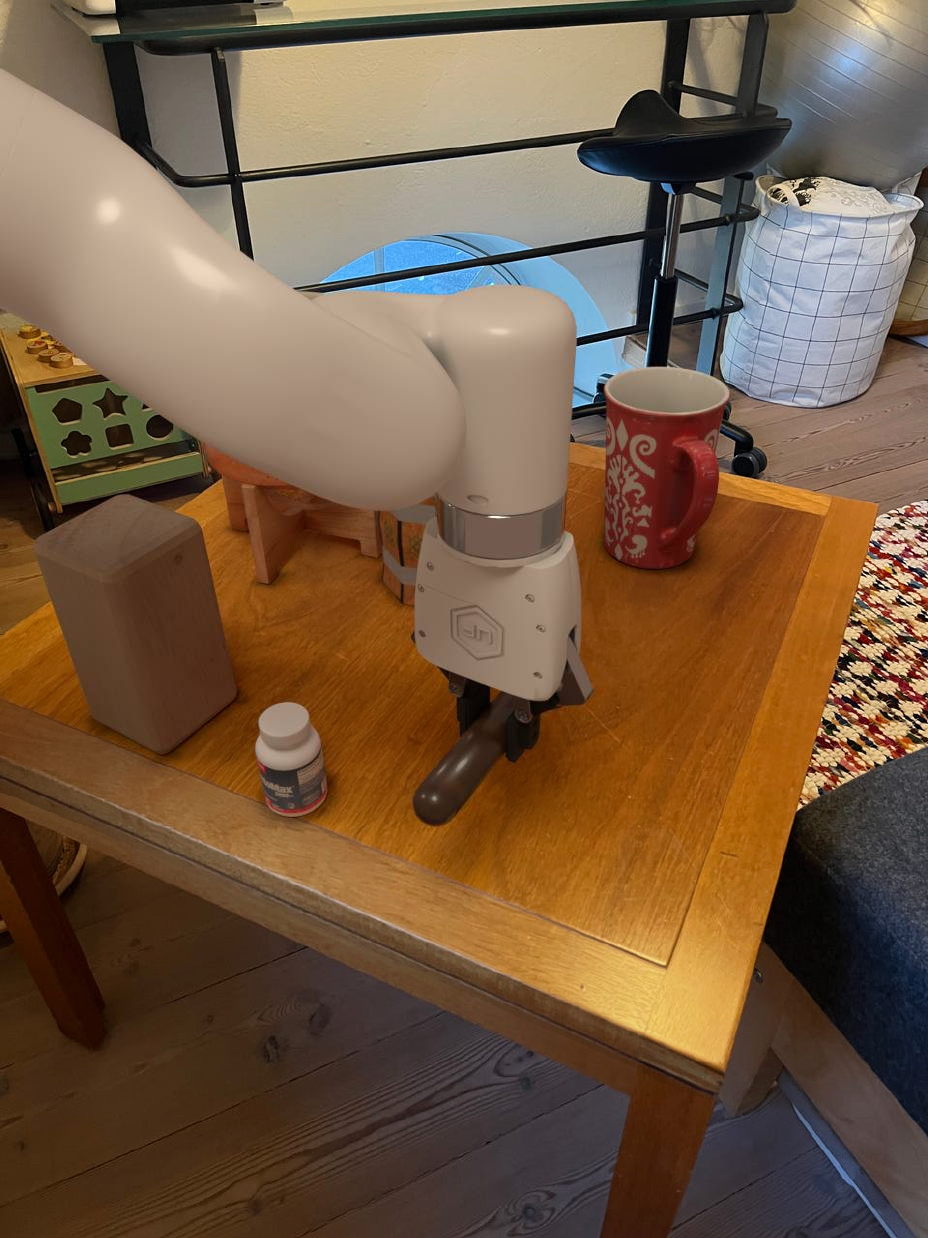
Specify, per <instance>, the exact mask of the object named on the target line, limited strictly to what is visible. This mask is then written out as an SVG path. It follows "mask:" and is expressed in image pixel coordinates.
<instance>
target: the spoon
mask: <svg viewBox="0 0 928 1238" xmlns="http://www.w3.org/2000/svg"><path fill="white" fill-rule="evenodd" d="M563 707H564V706H562V705H559V706H556V707H555V708H553V709H551V710H550V711H554V710H558V709H561V708H563ZM513 710H514V706H513V695H512V694H509V693H506V692H504V691H501V690H499V692H498V693H497V694H496V695H495V696H494V698H493V699H492V700H490V703H489V705H488V706H487V707H486V708H485V709H484V710H483V712H482V713H481V714H480V715H479V716H478V717H477V719H476V720H475V721H474V722H473V723H472V724H471V726H470V727H469V728H468V729H467V730H466V731H465V733H464V734H463V735H462V736H461V737H460V736H459V738H458V739H457V741H456V742H454V744H453V745H452V747H451V748H450V749H449V750H448V751H447V752H446V754H444V756H443V757H442V758H441V759H440V761H439V762H438V763H437V764H436V765H435V766H434V768H433V769H431V771H430V772H429V773H428V774H427V776H426V777H425V778H424V779H423V780H422V782H421V783H420V784H419V785H418V786H417V788H415V790H414V793H413V795H412V801H411V804H412V805H411V806H412V810H413V813H414V816H415V817H416V818H417V820H419V821H420V822H421V823H422V824H424V825H426V826H428V827H434V828H436V827H438V828H439V827H442V826H443V827H444V826H445V825H448V824H449V823H451V822H452V821H453V820H454V818H455V817H456V816H457V815H458V814H459V813H460V811H461V810H462V809H463V807H464V806H465V805H466V803H467V802H468V801H469V800H470V798H471V797H472V796H473V795H474V794H475V792H476V791H477V789H478V788H479V787H480V786H481V784H482V783H483V782H484V781H485V780H486V779H487V777H488V776H489V774H490V773H491V772H492V771H493V769H494V768H495V767H496V766H497V764H498V763H499V762H500V760H501V759H502V758H503V757H504V756H505V754H506V721H507V718H508V716H509V715H510V714H511V713H512V712H513Z"/></svg>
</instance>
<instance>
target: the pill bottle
mask: <svg viewBox="0 0 928 1238" xmlns="http://www.w3.org/2000/svg"><path fill="white" fill-rule="evenodd" d="M258 730H259V735H258V737H257V739H256V742H255V746H254V749H255V750H254V751H255V757H256V763H257V767H258V772H259V776H260V781H261V787H262V791H263V796H264V800H265V803H266V805H267V806H268V807H267V808H269V809H270V810H271V811H272V812H274V813H275V814H277V815H279V816H283V817H287V818H288V817H289V818H297V817H302V816H305V815H308V814H310V813H313V812H314V811H315V810H317V809H318V808H319V807H320V806H321V805H322V804H323V803H324V801H325V800H326V797H327V794H328V782H327V774H326V768H325V767H326V765H325V761H324V760H325V759H324V753H323V746H322V741H321V737H320V734H319V732H318V730H317V729H316V728H315V727H314V726H313V725H312V722H311V717H310V714H309V711H308V710H307V708H306V707H305V706H303V705H301V704H299V703H297V702H292V701H291V702H290V701H287V702H286V701H285V702H280V703H276V704H273V705H270V706H269V707H268V708H266V709H265V710H264V711H263V712H261V714H260V716H259V719H258Z"/></svg>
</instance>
